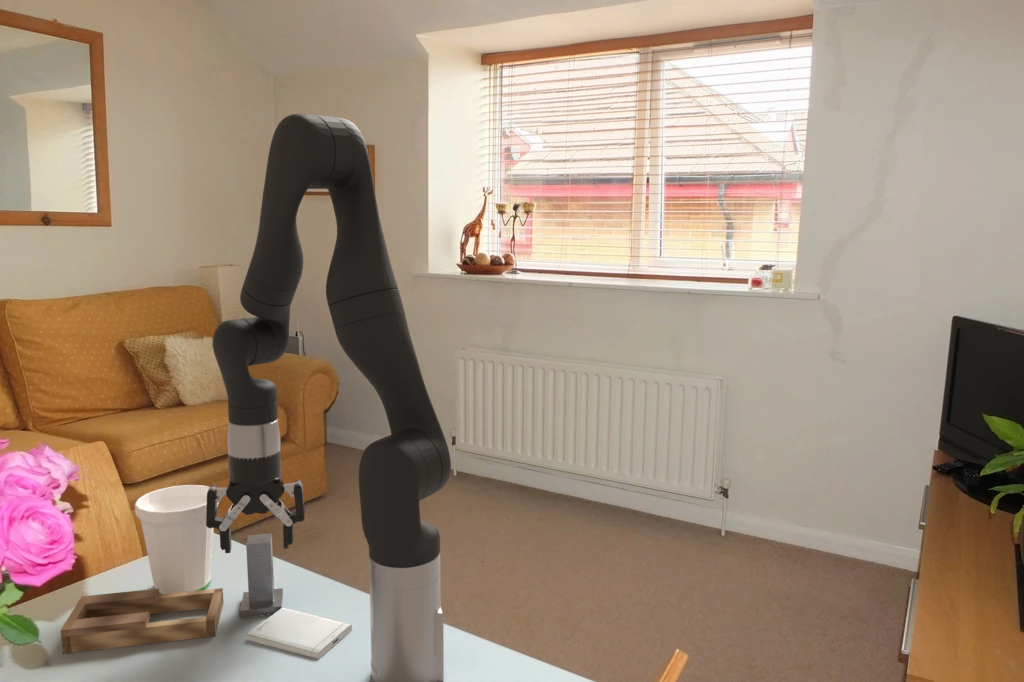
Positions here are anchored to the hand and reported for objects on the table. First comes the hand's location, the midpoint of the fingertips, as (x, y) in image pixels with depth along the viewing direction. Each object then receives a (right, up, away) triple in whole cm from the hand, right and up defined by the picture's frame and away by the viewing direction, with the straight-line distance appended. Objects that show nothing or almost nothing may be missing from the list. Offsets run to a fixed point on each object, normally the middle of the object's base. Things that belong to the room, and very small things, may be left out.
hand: (257, 548), depth 118 cm
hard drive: (+8, -12, -6) cm, 16 cm away
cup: (-15, -8, +8) cm, 19 cm away
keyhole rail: (-15, -10, -5) cm, 19 cm away
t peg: (0, -9, +1) cm, 10 cm away
